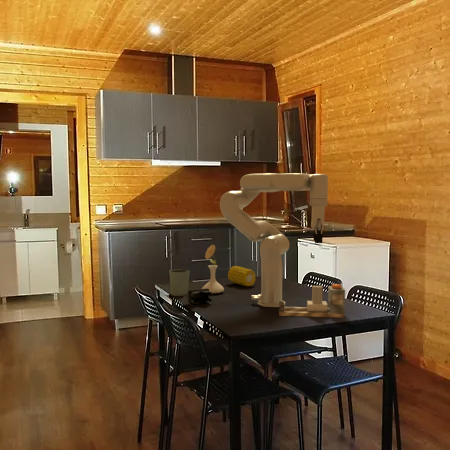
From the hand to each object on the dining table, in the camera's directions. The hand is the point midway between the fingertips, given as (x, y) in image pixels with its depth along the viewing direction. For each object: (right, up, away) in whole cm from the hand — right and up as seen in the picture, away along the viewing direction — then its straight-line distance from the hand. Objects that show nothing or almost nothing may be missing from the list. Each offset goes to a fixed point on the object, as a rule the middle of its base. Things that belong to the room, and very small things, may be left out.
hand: (317, 241), depth 224 cm
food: (-31, -26, +59) cm, 72 cm away
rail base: (-4, -31, -5) cm, 31 cm away
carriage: (-1, -29, -6) cm, 29 cm away
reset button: (+7, -19, -7) cm, 21 cm away
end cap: (-52, -29, +13) cm, 61 cm away
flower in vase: (-47, -28, +37) cm, 66 cm away
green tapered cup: (-63, -28, +35) cm, 77 cm away
